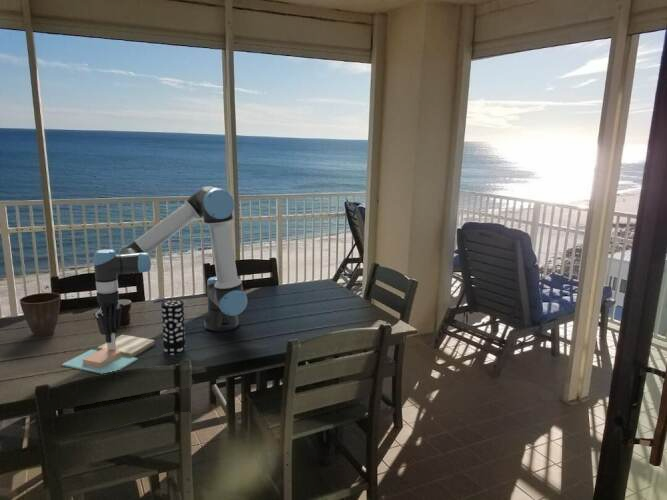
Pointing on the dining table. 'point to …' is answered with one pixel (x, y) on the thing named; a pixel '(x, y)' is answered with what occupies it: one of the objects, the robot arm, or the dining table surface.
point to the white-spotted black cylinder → (173, 327)
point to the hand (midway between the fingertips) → (111, 349)
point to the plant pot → (41, 312)
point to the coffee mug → (125, 312)
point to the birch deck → (130, 345)
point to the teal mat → (109, 367)
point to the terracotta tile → (102, 357)
